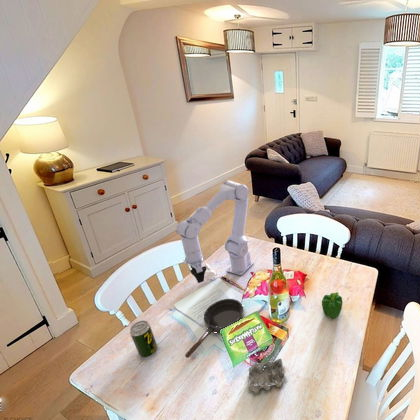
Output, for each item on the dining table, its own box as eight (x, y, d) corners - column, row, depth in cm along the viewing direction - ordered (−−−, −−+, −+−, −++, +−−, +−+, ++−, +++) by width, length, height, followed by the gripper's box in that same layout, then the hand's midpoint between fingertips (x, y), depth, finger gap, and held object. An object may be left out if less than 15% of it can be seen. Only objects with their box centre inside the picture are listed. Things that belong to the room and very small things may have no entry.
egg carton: (249, 395, 80) (247, 387, 78) (249, 371, 86) (248, 363, 85) (285, 387, 82) (284, 379, 80) (283, 364, 89) (282, 356, 87)
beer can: (137, 360, 88) (126, 335, 83) (142, 346, 93) (132, 321, 88) (155, 357, 90) (145, 332, 84) (160, 343, 94) (151, 318, 89)
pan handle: (210, 328, 98) (209, 325, 97) (214, 330, 98) (213, 326, 97) (184, 357, 88) (183, 354, 87) (188, 359, 87) (187, 356, 87)
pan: (221, 301, 112) (220, 294, 111) (251, 310, 108) (250, 304, 107) (196, 327, 100) (195, 321, 99) (228, 339, 96) (227, 332, 95)
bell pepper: (326, 324, 104) (327, 305, 99) (318, 309, 110) (319, 290, 106) (345, 318, 106) (347, 299, 102) (337, 303, 113) (338, 285, 109)
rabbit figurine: (209, 283, 122) (195, 273, 122) (211, 284, 125) (198, 274, 126) (218, 272, 124) (205, 262, 124) (220, 273, 127) (207, 263, 128)
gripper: (177, 243, 108) (184, 270, 114) (185, 262, 98) (192, 290, 104) (196, 238, 112) (201, 264, 118) (205, 256, 102) (211, 283, 108)
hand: (198, 276), depth 111 cm, fingers open, 7 cm apart
